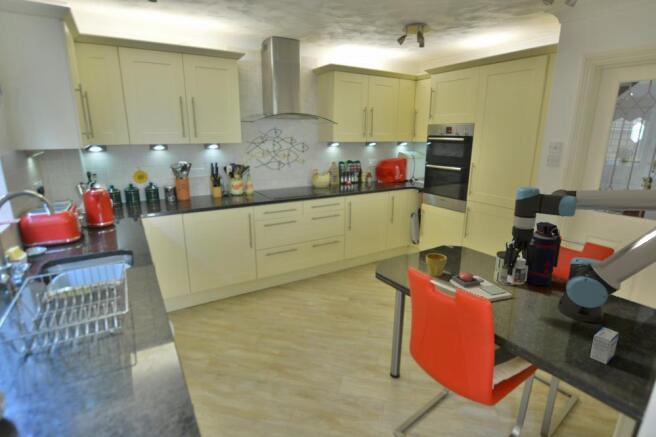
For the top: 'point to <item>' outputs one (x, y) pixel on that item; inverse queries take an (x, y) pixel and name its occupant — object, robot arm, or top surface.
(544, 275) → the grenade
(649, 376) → the top surface
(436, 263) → the plant pot
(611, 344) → the medicine box
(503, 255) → the coffee can
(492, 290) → the white control panel
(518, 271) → the pill bottle
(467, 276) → the button
